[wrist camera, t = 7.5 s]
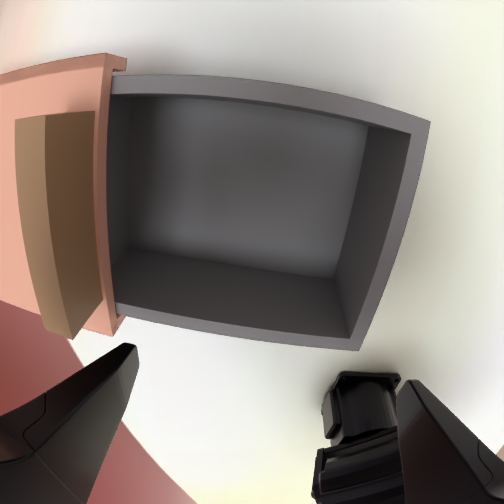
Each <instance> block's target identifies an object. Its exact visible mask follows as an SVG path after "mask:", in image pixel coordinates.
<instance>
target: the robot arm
mask: <svg viewBox="0 0 504 504" xmlns="http://www.w3.org/2000/svg"><path fill="white" fill-rule="evenodd" d="M138 369H139V358H138V351H137V347H136V345H134V344H130V343H122V344H121V345H119V346H118V347H116V348H114V349H113V350H111V351H110V352H108V353H106V354H105V355H103V356H102V357H100V358H99V359H97V360H95V361H94V362H92V363H91V364H89V365H87V366H86V367H84V368H83V369H81V370H79V371H78V372H76V373H75V374H73V375H72V376H70V377H68V378H67V379H65V380H64V381H62V382H61V383H59V384H57V385H56V386H54V387H53V388H51V389H49V390H47V391H46V393H45V392H44V393H43V394H41V395H39V396H38V397H36V398H34V399H33V400H31V401H29V402H27V403H26V404H24V405H22V406H20V407H18V408H16V409H14V410H12V411H10V412H8V413H6V414H3V415H1V416H0V504H86V503H87V501H88V498H89V495H90V493H91V490H92V488H93V485H94V483H95V480H96V477H97V475H98V473H99V470H100V468H101V466H102V463H103V461H104V458H105V456H106V453H107V451H108V449H109V446H110V444H111V442H112V439H113V437H114V435H115V433H116V430H117V428H118V426H119V423H120V421H121V419H122V417H123V414H124V412H125V410H126V407H127V404H128V401H129V398H130V395H131V391H132V388H133V385H134V382H135V379H136V375H137V372H138ZM343 377H344V378H343ZM400 381H401V377H400V375H399V374H372V373H349V372H343V373H340V374H339V375H338V377H337V379H336V382H335V384H334V386H333V388H332V389H331V390H330V391H329V392H328V394H327V396H326V398H325V400H324V402H323V404H322V410H321V414H322V415H323V423H324V434H325V438H326V439H330V441H331V447H328V448H325V449H324V448H321V449H318V450H317V457H316V460H315V469H314V477H313V485H312V492H311V496H312V498H314V499H315V500H316V503H317V504H504V462H503V461H502V460H501V459H500V458H499V457H498V456H497V455H495V454H494V453H493V452H492V451H491V450H490V449H489V448H488V447H487V446H486V445H485V444H484V443H483V442H482V441H481V440H480V439H478V437H477V436H476V435H475V434H474V433H472V432H471V431H470V430H469V429H468V428H467V427H466V426H465V425H464V424H463V423H462V422H461V421H460V420H459V419H458V418H457V417H456V416H455V415H454V414H453V413H452V412H451V411H450V410H449V409H448V408H447V407H446V406H445V405H444V404H443V403H442V402H441V401H440V400H439V399H438V398H437V397H435V396H434V395H433V394H432V393H431V392H430V391H429V390H428V389H427V388H426V387H425V386H424V385H423V384H422V383H421V382H420V381H419V380H407V381H406V382H405V383H404V385H403V386H402V388H401V390H400V391H399V393H398V394H397V396H396V393H395V389H396V387H397V385H398V384H399V382H400Z"/></svg>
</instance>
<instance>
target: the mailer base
mask: <svg viewBox="0 0 504 504" xmlns="http://www.w3.org/2000/svg"><path fill="white" fill-rule="evenodd" d="M430 122H431V121H428V120H425V119H422V118H420V117H417V116H414V115H411V114H408V113H405V112H402V111H398V110H395V109H392V108H389V107H385V106H382V105H378V104H375V103H371V102H367V101H364V100H360V99H356V98H352V97H348V96H343V95H339V94H335V93H330V92H325V91H320V90H315V89H310V88H305V87H299V86H293V85H287V84H281V83H274V82H267V81H259V80H250V79H241V78H230V77H217V76H200V75H127V76H112V80H111V89H110V100H109V112H108V127H107V150H106V205H107V228H108V244H109V257H110V268H111V278H112V286H113V295H114V302H115V310H116V314H120V315H124V316H128V317H132V318H137V319H141V320H146V321H151V322H155V323H160V324H165V325H170V326H175V327H180V328H185V329H191V330H196V331H202V332H207V333H213V334H219V335H225V336H231V337H238V338H244V339H251V340H258V341H265V342H273V343H281V344H289V345H298V346H307V347H317V348H327V349H338V350H351V351H359V349H360V347H361V345H362V343H363V341H364V338H365V336H366V334H367V331H368V329H369V327H370V324H371V322H372V320H373V317H374V315H375V312H376V310H377V307H378V305H379V302H380V300H381V297H382V295H383V292H384V289H385V287H386V284H387V281H388V278H389V276H390V273H391V270H392V267H393V264H394V261H395V259H396V256H397V253H398V250H399V246H400V243H401V240H402V237H403V234H404V231H405V227H406V224H407V221H408V217H409V214H410V210H411V207H412V203H413V199H414V195H415V192H416V188H417V184H418V180H419V176H420V171H421V167H422V163H423V158H424V153H425V149H426V144H427V139H428V133H429V128H430Z"/></svg>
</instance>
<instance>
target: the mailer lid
mask: <svg viewBox="0 0 504 504" xmlns="http://www.w3.org/2000/svg"><path fill="white" fill-rule="evenodd" d="M126 62H127V59H126V58H123V57H119V56H115V55H111V54H108V53H101V54H93V55H86V56H80V57H74V58H68V59H63V60H57V61H52V62H48V63H43V64H39V65H35V66H31V67H27V68H23V69H19V70H15V71H12V72H8V73H5V74H2V75H0V300H2V301H4V302H7V303H10V304H12V305H15V306H18V307H20V308H23V309H26V310H28V311H31V312H34V313H37V314H39V315H41V317H42V320H43V323H44V326H45V330H46V331H49V332H51V333H54V334H57V335H60V336H63V337H66V338H69V339H72V340H73V339H74V338H75V336H76V335H77V334H78V332H79V331H80V330H81V328H83V329H86V330H90V331H93V332H97V333H100V334H104V335H107V336H111V337H113V336H114V334H115V333H116V331H117V329H118V328H119V326H120V325H121V323H122V321H123V320H124V318H125V317H126V316H124V315H120V314H116V310H115V302H114V295H113V286H112V278H111V268H110V257H109V244H108V228H107V205H106V150H107V127H108V112H109V100H110V89H111V80H112V72H115V71H125V70H126Z"/></svg>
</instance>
